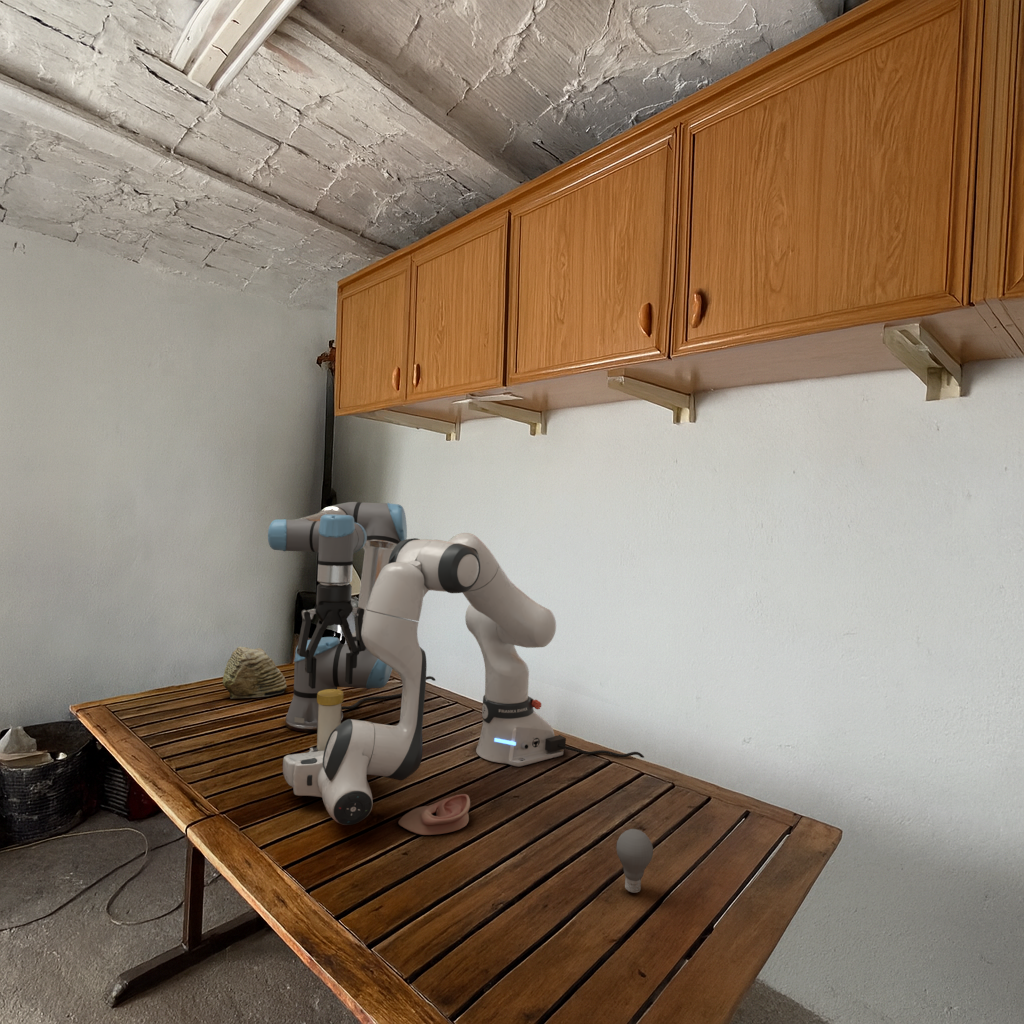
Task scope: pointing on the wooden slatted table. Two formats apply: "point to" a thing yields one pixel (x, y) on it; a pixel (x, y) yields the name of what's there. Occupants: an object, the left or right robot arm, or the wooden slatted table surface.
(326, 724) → the beige cylinder
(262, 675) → the fossil
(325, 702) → the lid
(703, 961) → the wooden slatted table surface
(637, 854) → the light bulb
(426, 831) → the anatomical model
